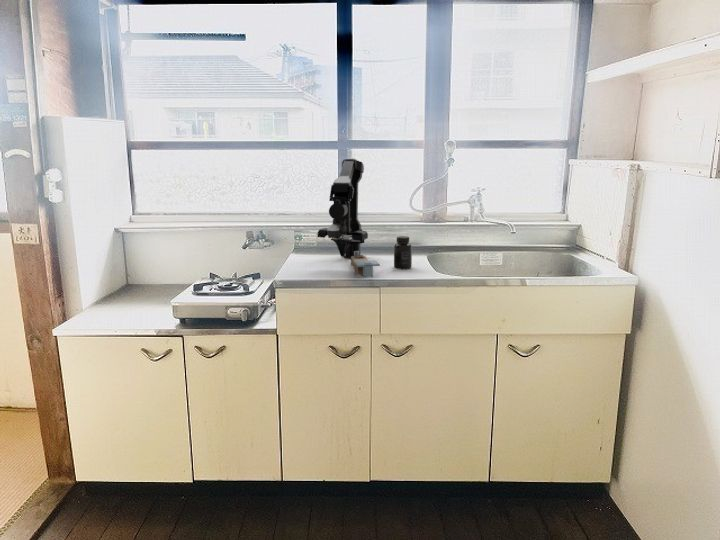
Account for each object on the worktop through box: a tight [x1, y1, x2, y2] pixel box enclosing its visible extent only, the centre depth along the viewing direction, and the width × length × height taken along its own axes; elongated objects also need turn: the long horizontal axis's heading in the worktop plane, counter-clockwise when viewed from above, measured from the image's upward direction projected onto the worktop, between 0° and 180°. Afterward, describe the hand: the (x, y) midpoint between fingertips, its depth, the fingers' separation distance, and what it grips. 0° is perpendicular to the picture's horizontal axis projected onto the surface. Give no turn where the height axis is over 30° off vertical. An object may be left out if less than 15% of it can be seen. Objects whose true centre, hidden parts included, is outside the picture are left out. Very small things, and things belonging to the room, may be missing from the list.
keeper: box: [354, 259, 381, 278], centre depth 191 cm, size 7×8×4 cm
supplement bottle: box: [393, 235, 413, 270], centre depth 202 cm, size 7×7×12 cm
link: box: [350, 255, 369, 275], centre depth 201 cm, size 18×6×3 cm, turn 9°
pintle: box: [354, 251, 359, 259], centre depth 207 cm, size 2×2×6 cm
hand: (342, 256), depth 200 cm, fingers closed
